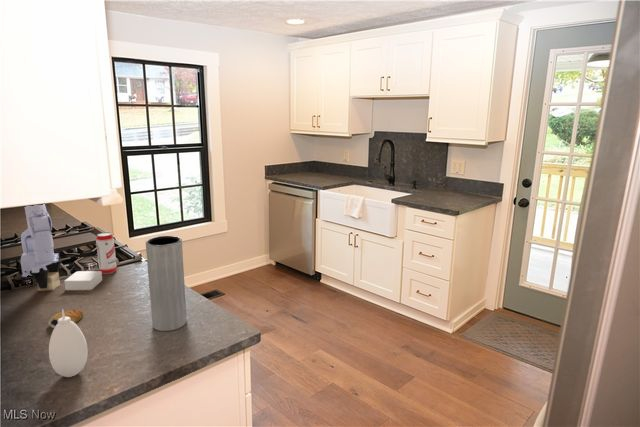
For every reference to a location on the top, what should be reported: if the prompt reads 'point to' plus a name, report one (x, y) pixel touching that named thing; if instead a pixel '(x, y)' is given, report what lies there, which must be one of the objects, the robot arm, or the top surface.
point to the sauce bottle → (67, 348)
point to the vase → (166, 282)
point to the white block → (83, 280)
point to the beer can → (106, 253)
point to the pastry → (73, 314)
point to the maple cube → (51, 281)
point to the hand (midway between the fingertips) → (48, 283)
